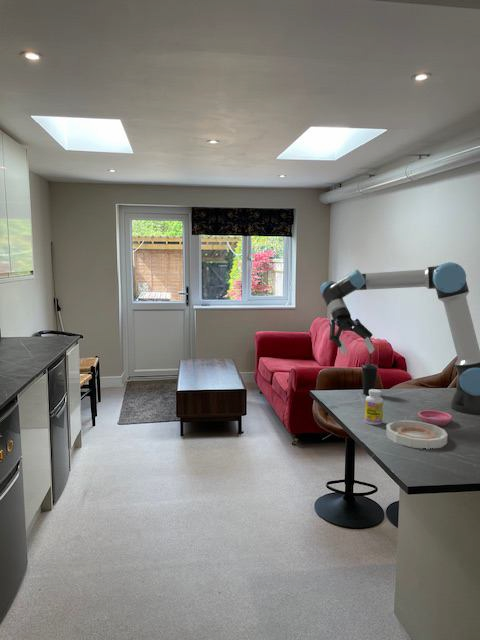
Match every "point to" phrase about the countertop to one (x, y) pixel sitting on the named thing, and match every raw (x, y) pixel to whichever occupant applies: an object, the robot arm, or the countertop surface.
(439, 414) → the saucer
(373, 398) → the supplement bottle
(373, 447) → the countertop surface
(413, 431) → the ceramic tray
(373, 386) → the drinking cup
